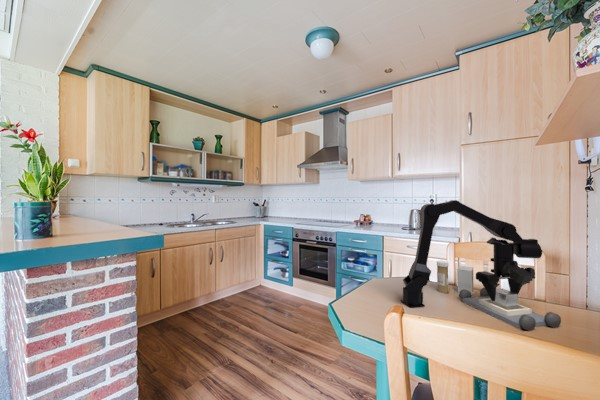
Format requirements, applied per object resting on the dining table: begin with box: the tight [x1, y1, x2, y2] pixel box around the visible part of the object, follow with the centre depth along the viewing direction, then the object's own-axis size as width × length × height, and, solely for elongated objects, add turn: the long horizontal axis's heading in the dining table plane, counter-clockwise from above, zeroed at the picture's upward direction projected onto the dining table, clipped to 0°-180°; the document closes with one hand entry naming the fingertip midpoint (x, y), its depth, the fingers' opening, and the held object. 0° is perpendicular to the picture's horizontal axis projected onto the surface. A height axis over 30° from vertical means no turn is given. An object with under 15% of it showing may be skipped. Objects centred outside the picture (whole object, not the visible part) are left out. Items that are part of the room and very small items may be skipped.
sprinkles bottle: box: [436, 260, 449, 294], centre depth 114 cm, size 5×5×14 cm
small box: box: [456, 265, 474, 296], centre depth 114 cm, size 8×6×10 cm
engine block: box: [491, 288, 519, 310], centre depth 92 cm, size 5×6×6 cm
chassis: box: [458, 287, 562, 332], centre depth 92 cm, size 14×25×4 cm, turn 11°
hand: (503, 299), depth 92 cm, fingers open, 9 cm apart
